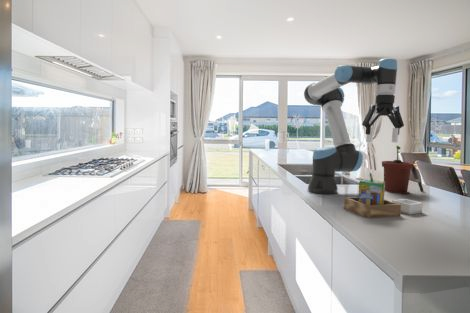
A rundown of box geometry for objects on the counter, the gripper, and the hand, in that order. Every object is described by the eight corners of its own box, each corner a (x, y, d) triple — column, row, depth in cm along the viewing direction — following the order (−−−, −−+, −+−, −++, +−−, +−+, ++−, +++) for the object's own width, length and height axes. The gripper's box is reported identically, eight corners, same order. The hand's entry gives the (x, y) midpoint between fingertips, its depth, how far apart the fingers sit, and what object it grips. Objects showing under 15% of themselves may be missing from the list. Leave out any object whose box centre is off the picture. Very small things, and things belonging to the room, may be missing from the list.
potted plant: (380, 186, 188) (383, 144, 186) (423, 191, 178) (427, 146, 176) (378, 191, 173) (381, 145, 171) (424, 196, 163) (428, 148, 160)
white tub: (391, 209, 134) (392, 200, 134) (403, 207, 138) (404, 198, 137) (409, 214, 127) (409, 204, 127) (421, 212, 130) (422, 202, 130)
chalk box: (382, 213, 123) (384, 175, 122) (357, 210, 128) (359, 173, 126) (384, 208, 131) (386, 173, 130) (360, 205, 136) (362, 171, 135)
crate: (343, 208, 135) (344, 197, 134) (373, 206, 139) (374, 196, 139) (368, 217, 120) (368, 206, 120) (400, 215, 125) (401, 204, 124)
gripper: (366, 92, 136) (363, 142, 138) (415, 95, 142) (411, 143, 144) (356, 94, 143) (352, 141, 145) (402, 96, 149) (398, 141, 151)
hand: (381, 142), depth 145 cm, fingers open, 13 cm apart
